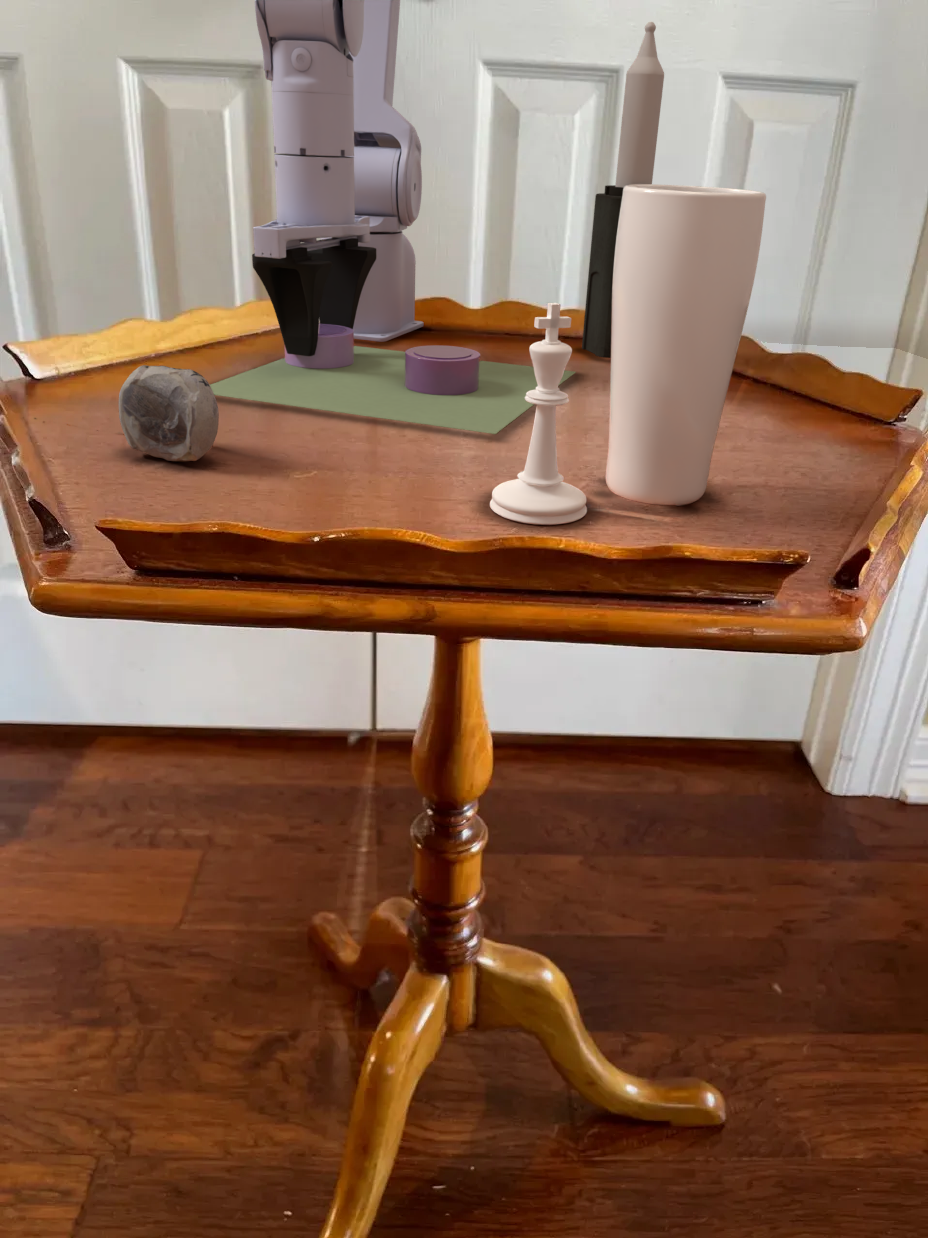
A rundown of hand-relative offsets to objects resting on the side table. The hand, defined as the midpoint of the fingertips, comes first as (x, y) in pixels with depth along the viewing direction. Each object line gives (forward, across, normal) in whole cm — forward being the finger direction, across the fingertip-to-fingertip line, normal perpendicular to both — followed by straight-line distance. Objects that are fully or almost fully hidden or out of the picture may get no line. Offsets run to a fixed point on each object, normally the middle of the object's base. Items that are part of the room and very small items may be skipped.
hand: (319, 347), depth 77 cm
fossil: (+2, -25, -4) cm, 25 cm away
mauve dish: (+1, -3, -12) cm, 12 cm away
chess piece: (+2, -24, -25) cm, 35 cm away
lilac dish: (+1, 0, 0) cm, 1 cm away
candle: (+2, +17, -20) cm, 26 cm away
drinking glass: (+2, -19, -30) cm, 36 cm away
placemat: (+1, -3, -8) cm, 9 cm away
